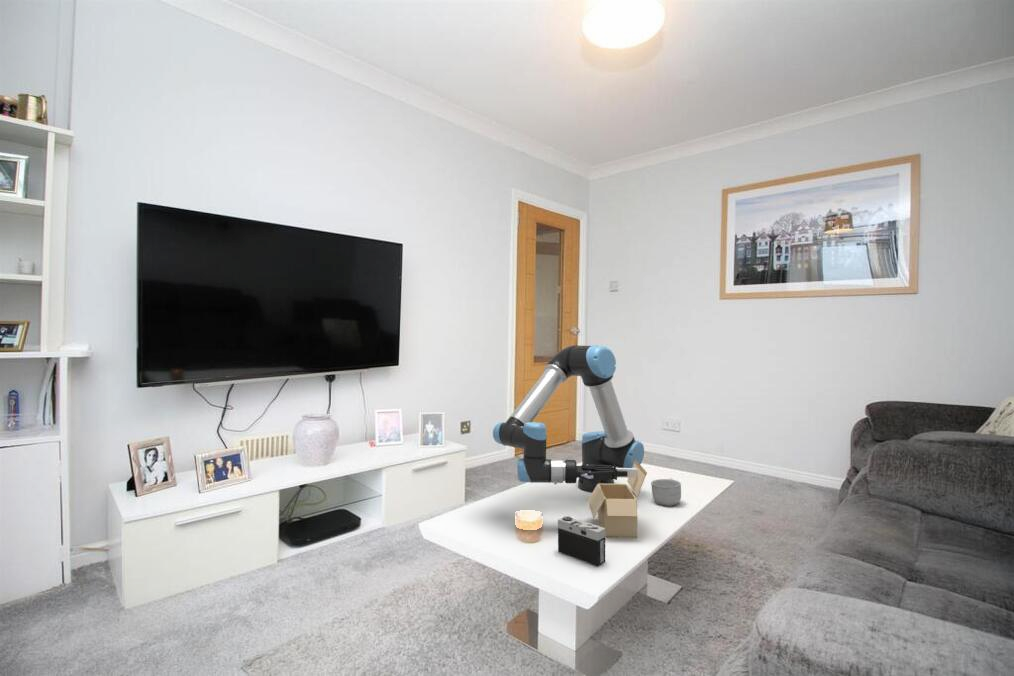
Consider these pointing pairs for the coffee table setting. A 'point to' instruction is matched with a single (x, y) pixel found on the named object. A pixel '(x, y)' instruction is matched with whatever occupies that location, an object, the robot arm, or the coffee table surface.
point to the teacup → (666, 491)
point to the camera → (581, 540)
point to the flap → (637, 482)
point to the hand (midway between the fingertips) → (636, 473)
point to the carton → (615, 509)
